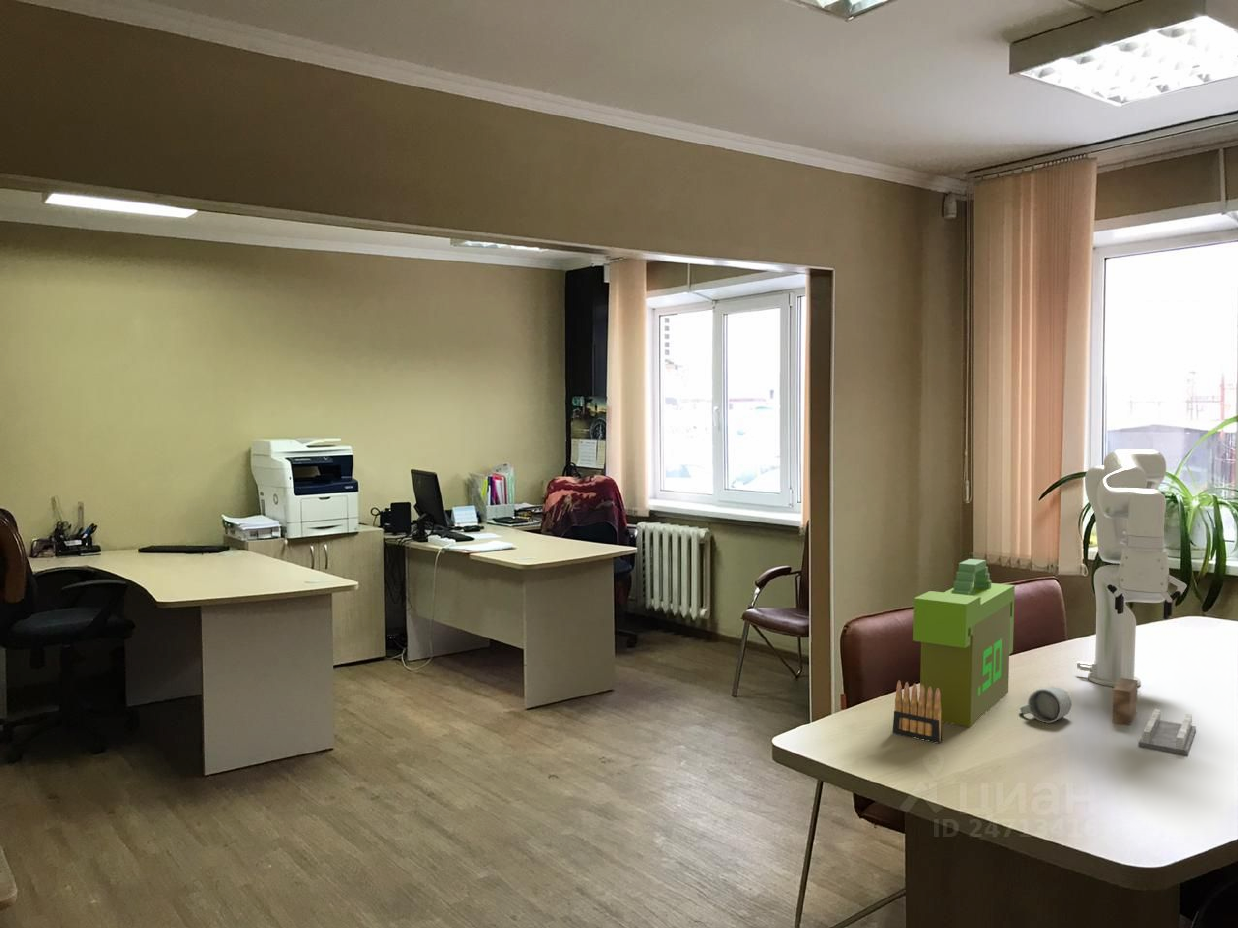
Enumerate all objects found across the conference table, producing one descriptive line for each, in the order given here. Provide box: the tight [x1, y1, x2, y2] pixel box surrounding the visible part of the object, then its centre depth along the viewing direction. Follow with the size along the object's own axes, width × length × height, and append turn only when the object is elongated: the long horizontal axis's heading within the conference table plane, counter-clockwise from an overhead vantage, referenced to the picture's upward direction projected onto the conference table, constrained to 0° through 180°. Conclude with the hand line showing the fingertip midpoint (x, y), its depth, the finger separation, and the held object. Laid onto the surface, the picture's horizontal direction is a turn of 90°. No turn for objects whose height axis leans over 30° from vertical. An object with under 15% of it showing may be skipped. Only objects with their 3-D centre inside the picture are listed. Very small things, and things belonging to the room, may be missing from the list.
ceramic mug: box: [1019, 686, 1073, 724], centre depth 224 cm, size 11×8×8 cm
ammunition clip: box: [892, 679, 943, 744], centre depth 209 cm, size 11×2×12 cm, turn 50°
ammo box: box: [912, 558, 1015, 728], centre depth 232 cm, size 45×12×35 cm, turn 145°
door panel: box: [1111, 678, 1138, 726], centre depth 224 cm, size 4×12×8 cm, turn 144°
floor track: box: [1138, 708, 1197, 756], centre depth 209 cm, size 9×20×4 cm, turn 144°
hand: (1142, 615), depth 223 cm, fingers open, 9 cm apart
